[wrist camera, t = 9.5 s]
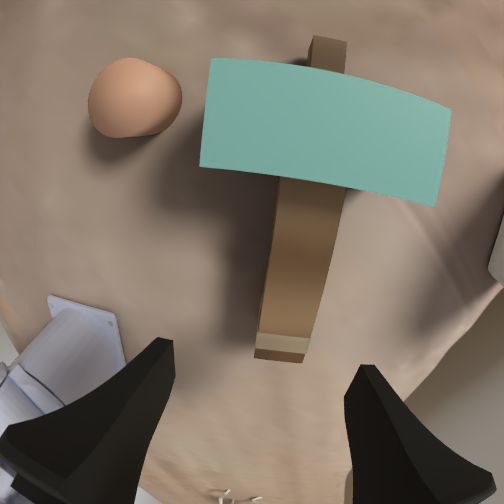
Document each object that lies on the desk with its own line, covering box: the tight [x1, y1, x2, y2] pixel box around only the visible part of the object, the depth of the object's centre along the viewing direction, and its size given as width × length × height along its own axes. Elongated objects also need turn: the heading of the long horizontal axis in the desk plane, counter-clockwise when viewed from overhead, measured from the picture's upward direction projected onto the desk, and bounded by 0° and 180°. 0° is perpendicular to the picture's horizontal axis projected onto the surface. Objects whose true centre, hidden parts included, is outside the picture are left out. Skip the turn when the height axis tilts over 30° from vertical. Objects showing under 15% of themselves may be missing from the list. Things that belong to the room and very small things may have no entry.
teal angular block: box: [199, 58, 451, 207], centre depth 12 cm, size 4×9×7 cm, turn 83°
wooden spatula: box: [254, 35, 347, 363], centre depth 15 cm, size 18×3×4 cm, turn 173°
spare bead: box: [88, 58, 182, 138], centre depth 14 cm, size 4×4×4 cm
